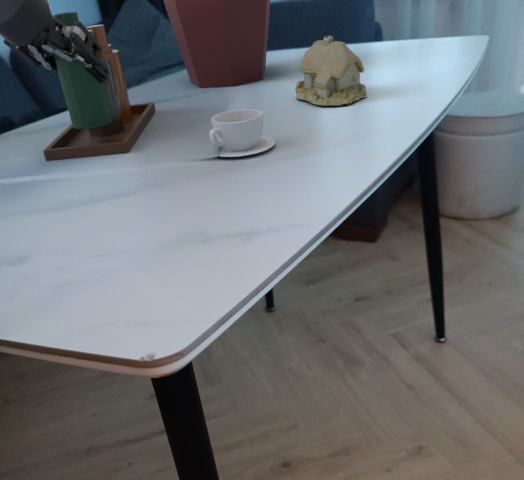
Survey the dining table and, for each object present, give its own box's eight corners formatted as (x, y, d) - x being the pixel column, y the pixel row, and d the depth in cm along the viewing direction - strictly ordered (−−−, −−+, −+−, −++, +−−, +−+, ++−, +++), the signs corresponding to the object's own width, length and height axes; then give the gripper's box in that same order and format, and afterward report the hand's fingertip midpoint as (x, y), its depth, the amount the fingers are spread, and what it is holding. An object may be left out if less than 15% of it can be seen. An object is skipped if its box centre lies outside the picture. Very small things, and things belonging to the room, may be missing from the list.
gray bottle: (85, 138, 97) (58, 36, 89) (94, 128, 102) (69, 31, 94) (121, 134, 97) (97, 31, 88) (128, 125, 102) (106, 26, 93)
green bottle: (68, 130, 90) (37, 18, 81) (78, 120, 95) (50, 13, 86) (107, 126, 89) (80, 13, 81) (115, 117, 94) (90, 8, 86)
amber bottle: (96, 127, 103) (71, 30, 95) (103, 118, 108) (81, 25, 100) (129, 123, 103) (108, 26, 94) (136, 115, 108) (116, 21, 99)
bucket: (302, 72, 130) (294, -68, 116) (230, 95, 117) (211, -58, 103) (225, 67, 145) (210, -57, 130) (154, 87, 132) (129, -48, 118)
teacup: (245, 135, 92) (241, 103, 89) (289, 145, 86) (286, 110, 83) (193, 153, 87) (187, 120, 84) (236, 164, 80) (231, 129, 78)
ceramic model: (380, 95, 105) (381, 31, 99) (335, 110, 99) (333, 43, 94) (324, 88, 114) (321, 29, 108) (280, 101, 109) (275, 40, 103)
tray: (47, 166, 89) (42, 150, 88) (89, 122, 110) (86, 109, 109) (129, 158, 88) (126, 142, 87) (156, 115, 109) (153, 102, 108)
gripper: (52, -36, 72) (133, 53, 87) (-28, -26, 78) (61, 56, 93) (34, 20, 71) (119, 100, 86) (-46, 26, 77) (47, 100, 92)
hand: (88, 77), depth 90 cm, fingers closed on green bottle, 6 cm apart
